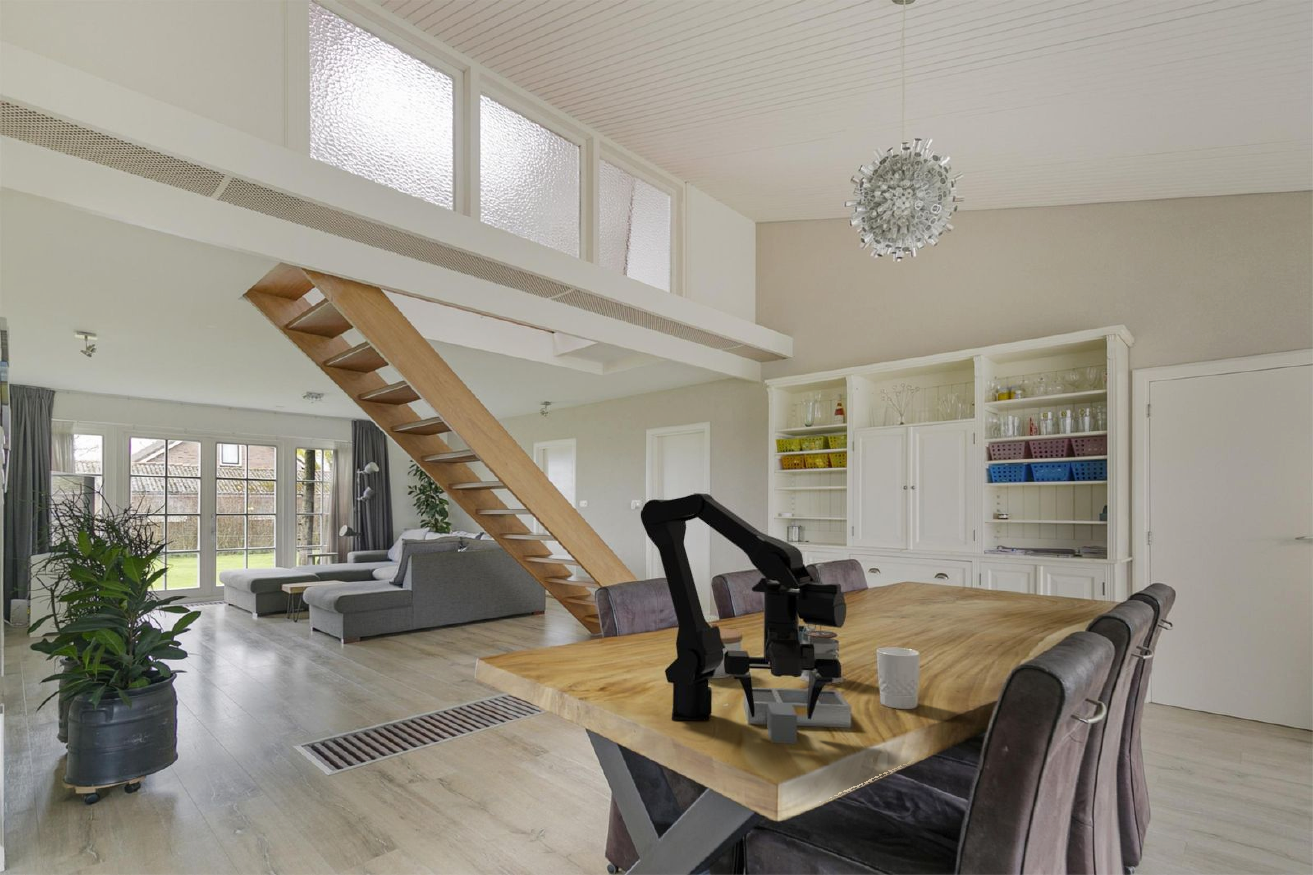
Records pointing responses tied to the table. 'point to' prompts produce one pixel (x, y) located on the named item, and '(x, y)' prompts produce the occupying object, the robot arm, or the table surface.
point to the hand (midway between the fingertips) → (780, 717)
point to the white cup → (898, 677)
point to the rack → (801, 706)
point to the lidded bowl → (728, 647)
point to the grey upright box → (781, 722)
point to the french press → (821, 642)
